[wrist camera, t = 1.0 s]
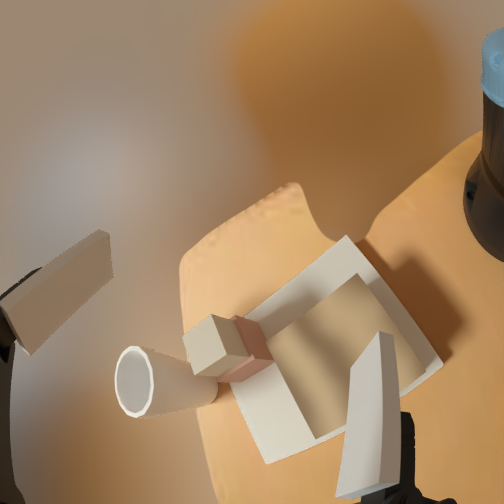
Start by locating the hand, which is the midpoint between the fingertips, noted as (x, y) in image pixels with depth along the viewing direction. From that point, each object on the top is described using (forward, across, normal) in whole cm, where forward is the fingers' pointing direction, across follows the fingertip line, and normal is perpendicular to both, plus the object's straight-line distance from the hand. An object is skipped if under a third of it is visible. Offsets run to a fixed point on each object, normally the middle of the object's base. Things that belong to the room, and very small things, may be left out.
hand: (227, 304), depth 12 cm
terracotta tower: (+14, +1, -21) cm, 25 cm away
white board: (+14, +9, -17) cm, 23 cm away
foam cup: (+12, -4, -30) cm, 33 cm away
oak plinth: (+12, +12, -13) cm, 22 cm away
